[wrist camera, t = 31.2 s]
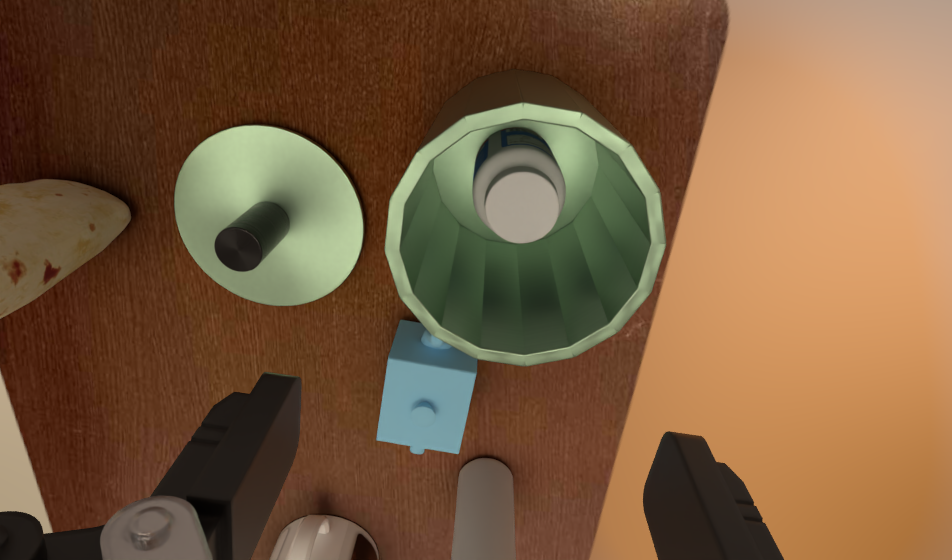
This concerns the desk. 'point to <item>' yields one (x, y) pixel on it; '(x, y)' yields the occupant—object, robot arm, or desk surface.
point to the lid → (269, 214)
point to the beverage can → (484, 512)
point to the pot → (536, 263)
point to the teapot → (425, 391)
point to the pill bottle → (518, 185)
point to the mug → (324, 540)
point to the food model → (51, 234)
